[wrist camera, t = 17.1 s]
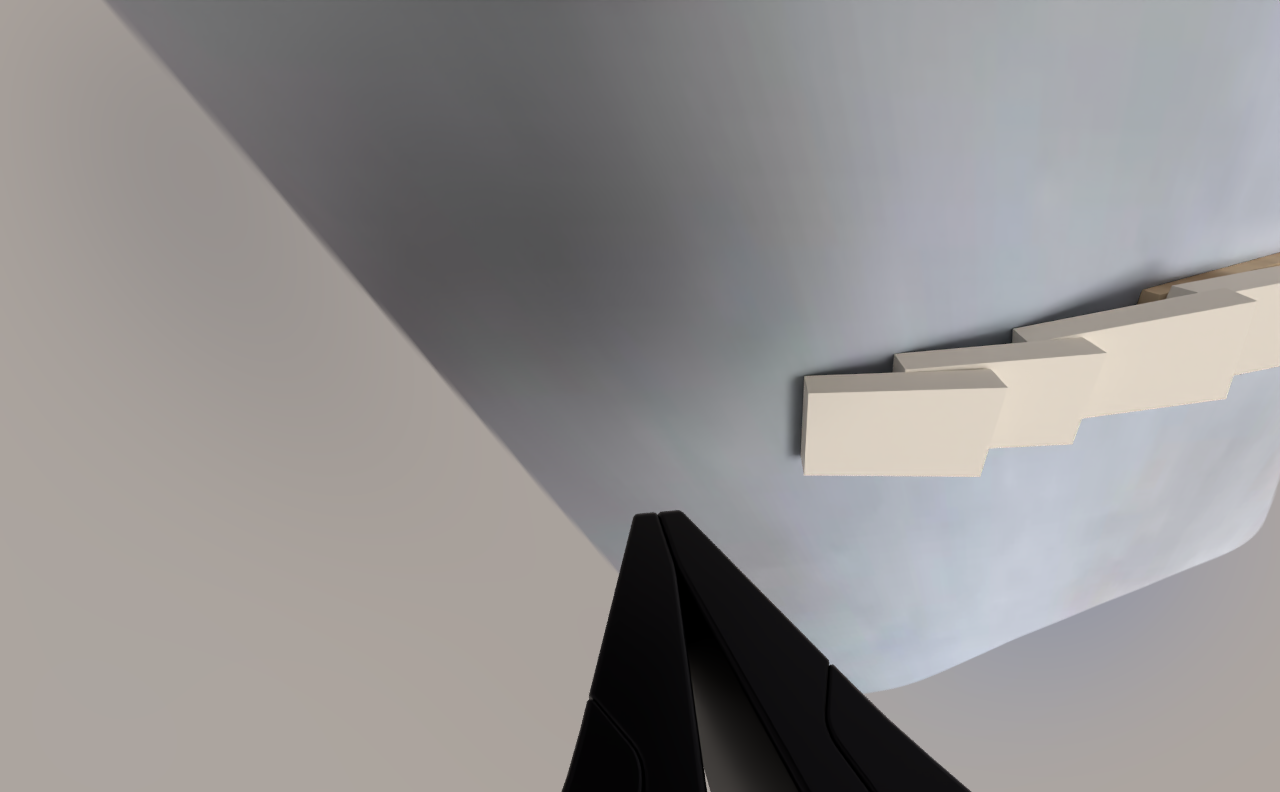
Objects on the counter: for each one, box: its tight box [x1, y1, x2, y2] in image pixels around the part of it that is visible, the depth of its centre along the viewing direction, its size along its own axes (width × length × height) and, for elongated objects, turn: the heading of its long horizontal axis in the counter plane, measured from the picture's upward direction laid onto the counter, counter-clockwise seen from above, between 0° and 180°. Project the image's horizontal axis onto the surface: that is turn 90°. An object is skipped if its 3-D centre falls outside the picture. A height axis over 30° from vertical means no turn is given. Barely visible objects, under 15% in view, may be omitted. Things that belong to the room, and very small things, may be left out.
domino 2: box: [892, 337, 1107, 448], centre depth 23 cm, size 5×2×8 cm
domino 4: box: [1166, 265, 1280, 375], centre depth 23 cm, size 5×2×8 cm
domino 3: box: [1012, 288, 1258, 419], centre depth 23 cm, size 5×2×8 cm
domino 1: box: [801, 369, 1008, 477], centre depth 23 cm, size 5×2×8 cm
